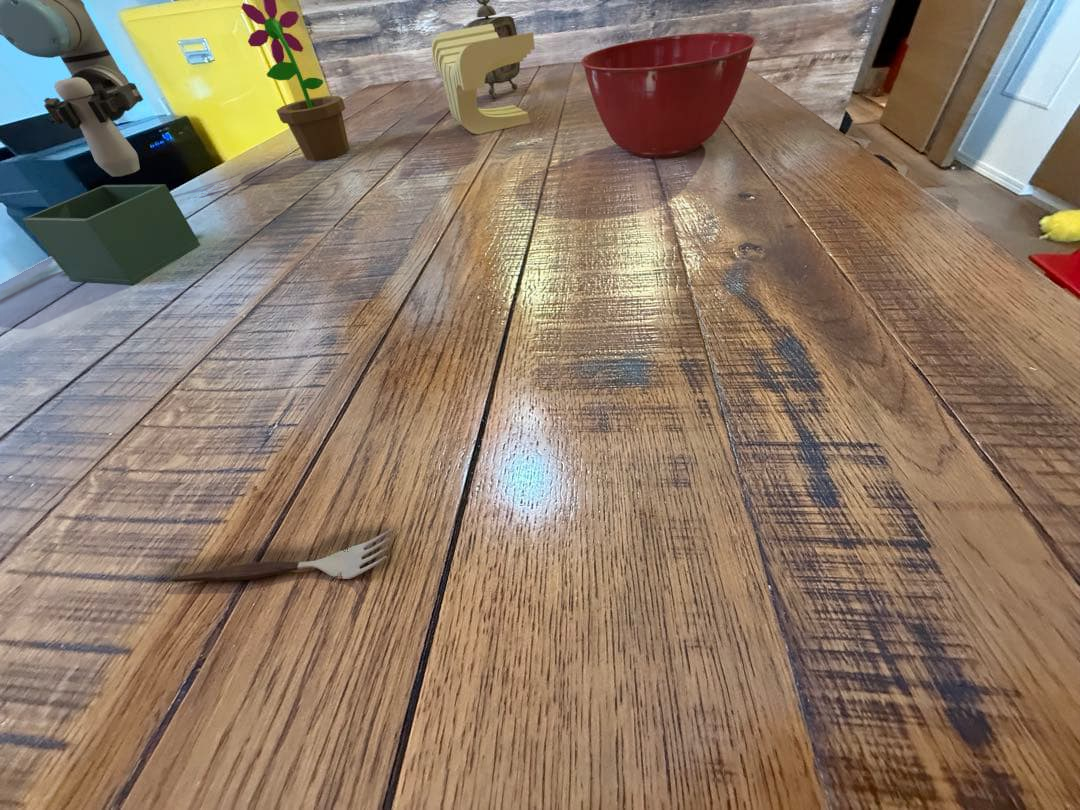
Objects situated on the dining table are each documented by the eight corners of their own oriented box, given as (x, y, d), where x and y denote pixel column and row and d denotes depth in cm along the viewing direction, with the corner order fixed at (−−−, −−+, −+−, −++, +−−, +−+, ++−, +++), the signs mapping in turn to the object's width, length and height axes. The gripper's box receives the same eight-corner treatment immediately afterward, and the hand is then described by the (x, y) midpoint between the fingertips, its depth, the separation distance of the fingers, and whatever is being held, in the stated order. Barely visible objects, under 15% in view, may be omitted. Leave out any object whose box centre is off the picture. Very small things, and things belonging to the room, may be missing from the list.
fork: (184, 566, 37) (168, 551, 36) (400, 542, 36) (392, 525, 35) (167, 600, 35) (148, 586, 34) (395, 575, 34) (385, 559, 33)
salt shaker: (126, 177, 80) (66, 81, 71) (97, 179, 81) (34, 85, 72) (153, 165, 84) (99, 72, 75) (124, 167, 85) (68, 76, 77)
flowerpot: (339, 141, 127) (286, -14, 107) (369, 148, 119) (317, -19, 99) (286, 158, 120) (218, -3, 100) (314, 167, 112) (246, -7, 92)
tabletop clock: (496, 101, 140) (478, -15, 124) (470, 101, 144) (449, -12, 128) (523, 88, 149) (510, -22, 132) (498, 89, 153) (482, -19, 136)
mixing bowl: (574, 176, 89) (567, 72, 78) (596, 129, 109) (593, 41, 99) (746, 169, 82) (764, 54, 72) (736, 120, 102) (749, 26, 92)
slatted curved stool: (445, 119, 132) (427, 35, 120) (503, 106, 135) (492, 23, 123) (474, 145, 110) (455, 46, 98) (542, 130, 113) (533, 32, 101)
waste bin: (71, 281, 79) (21, 219, 73) (142, 242, 88) (104, 184, 82) (132, 285, 75) (86, 220, 69) (200, 244, 85) (165, 184, 78)
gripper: (162, 108, 94) (159, 130, 78) (62, 128, 89) (37, 157, 73) (136, 59, 89) (127, 73, 73) (29, 78, 84) (-6, 97, 68)
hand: (82, 115), depth 73 cm, fingers closed on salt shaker, 3 cm apart
